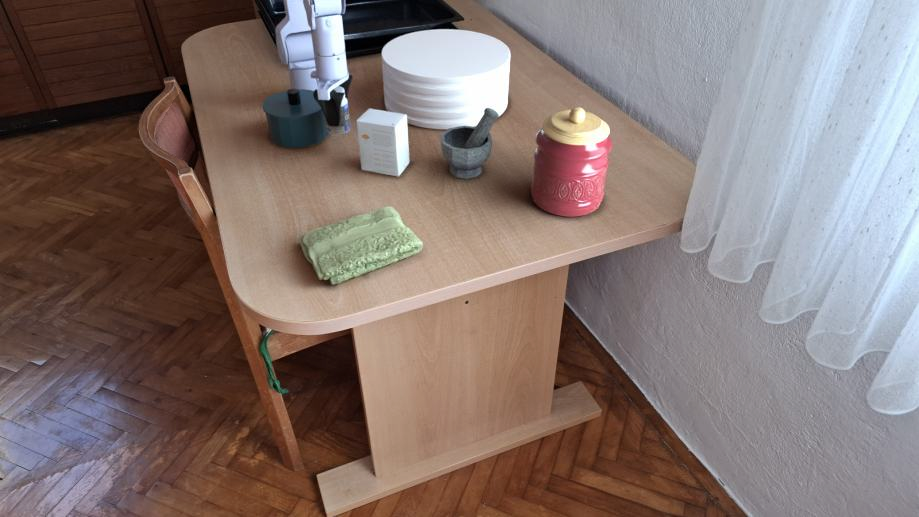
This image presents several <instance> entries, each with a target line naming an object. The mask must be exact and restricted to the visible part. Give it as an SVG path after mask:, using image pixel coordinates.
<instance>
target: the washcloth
mask: <svg viewBox="0 0 919 517" xmlns="http://www.w3.org/2000/svg"><path fill="white" fill-rule="evenodd" d="M297 241H298V242H299V244H300V246H301V250H302V252H303V255H304V257H305V259H306V260H307V262H309V263H310V264H311V266H312V267H313V270H314V271H315V273H316V275H317V278H318V280H320V281H321V280H323V281H327V280H329V282H330V285H332V286H333V285H338V284H341V283H343V282H346V281H349V280H350V279H353V278H354V279H355V278H358V277H360V276H361V275H363V274H366V273H370V272H373V271H376V269H381V268H384V267H386V266H388V265H390V264H394V263H397V262H398V261H401V260H403V259H407V258H408V259H409V257H411V256H415V255H417V254H418V253H419V252H421V251H422V250H423V247H424V245H423V244H424V243H423V241H422V240H421V238H419V237H418V236H417V235H416V234H415V233H414V231H412V229H411V228H409V227H408V226H406V225H405V223H404V222H403V219H402V217H401V215H400V213H399V212H398V211H397V210H396V209H395V208H394V207H392V206H390V205H385V206H382V207H379V208H377V209H374V210H373V211H370V212H367V213H364V214H358V215H354V216H353V217H350V218H347V219H344V220H341V221H338V222H335V223H331V224H328V225H323V226H319V227H316V228H313V229H311V230H309V231H308V232H305V233H304V234H302V235H301V236H299V237H298V239H297Z"/></svg>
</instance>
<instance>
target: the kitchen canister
mask: <svg viewBox="0 0 919 517" xmlns="http://www.w3.org/2000/svg"><path fill="white" fill-rule="evenodd" d="M610 132H611V131H610V126H609V124H607V122H606V121H605V120H603V119H601V118H600V117H599V116H598V115H596V114H594V113H592V112H590V111H586V110H584V109H583V108H582V107H580V106H575V107H573V108H572V109H565V110H560V111H557V112H556V113H553V114H551V115H549V116H547V117H546V118H544V119H543V121H542V123H541V128H540V129H539V130H538V131H537V133H536V134H535V143H536V146H537V148H535V150H534V152H533V158H534V162H533V172H532V173H533V175H532V180H531V184H530V192H531V199H532V201H533V202H534V204H535V205H536V206H537V207H539V208H540V209H541V210H543V211H544V212H547V213H549V214H551V215H552V214H553V215H556V216H559V217H569V218H571V217H574V218H575V217H582V216H586V215H589V214H591V213H593V212H595V211H596V210H597V209H599V207H600V206H601V203H602V201H603V199H604V194H605V184H606V178H607V172H608V167H609V166H610V157H609V155H608V154H609V153H610V151H611V150H612V148H613V140H612V137H611V136H610Z"/></svg>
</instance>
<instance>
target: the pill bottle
mask: <svg viewBox="0 0 919 517" xmlns="http://www.w3.org/2000/svg"><path fill="white" fill-rule="evenodd" d="M335 90H336V92H343V93H345V90H344V88H343V87H340V86H337V87H336V88H334V91H335ZM348 101H349V100H348V98H347V99H346V98H345V94H344V97H343V100H342V104H341V119H340V125H339V126H329V125H328V123H327V121H326V118H325V123H326V130H327V132H328V134H330V135H333V136H341V135H345V134H347V133H348V132H350V130H351V122H350V111H349V102H348Z"/></svg>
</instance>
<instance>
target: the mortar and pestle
mask: <svg viewBox="0 0 919 517" xmlns="http://www.w3.org/2000/svg"><path fill="white" fill-rule="evenodd" d="M498 116H499V114H498V113H497V112H496V111H495V110H493V109H491V108H486V109H485V110H484V115H483V116H482V118H481V120H480V121H479V123H478V124H477V126H474V127H471V126H459V127H454V128H449V129H445V131H444V132H442V133H441V134H440V147H441V149H440V150H441V154H442V157H443V159H444V160H445V162H446V163H447V164H449V173H450V174H451V175H453V176H454V177H456V178H460V179H471V178H472V179H473V178H477V177H478V176H479V175H480V174H481V173H482V165H483V164H484V163H486V162H487V160H488V159H489V157H490V156H491V153H492V149H493V139H492V138H493V137H492V134H491V132H490V131H491V129H492V127H493V125H494V123H495V121H496V120H497V119H499V117H500V116H499V117H498Z"/></svg>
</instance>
